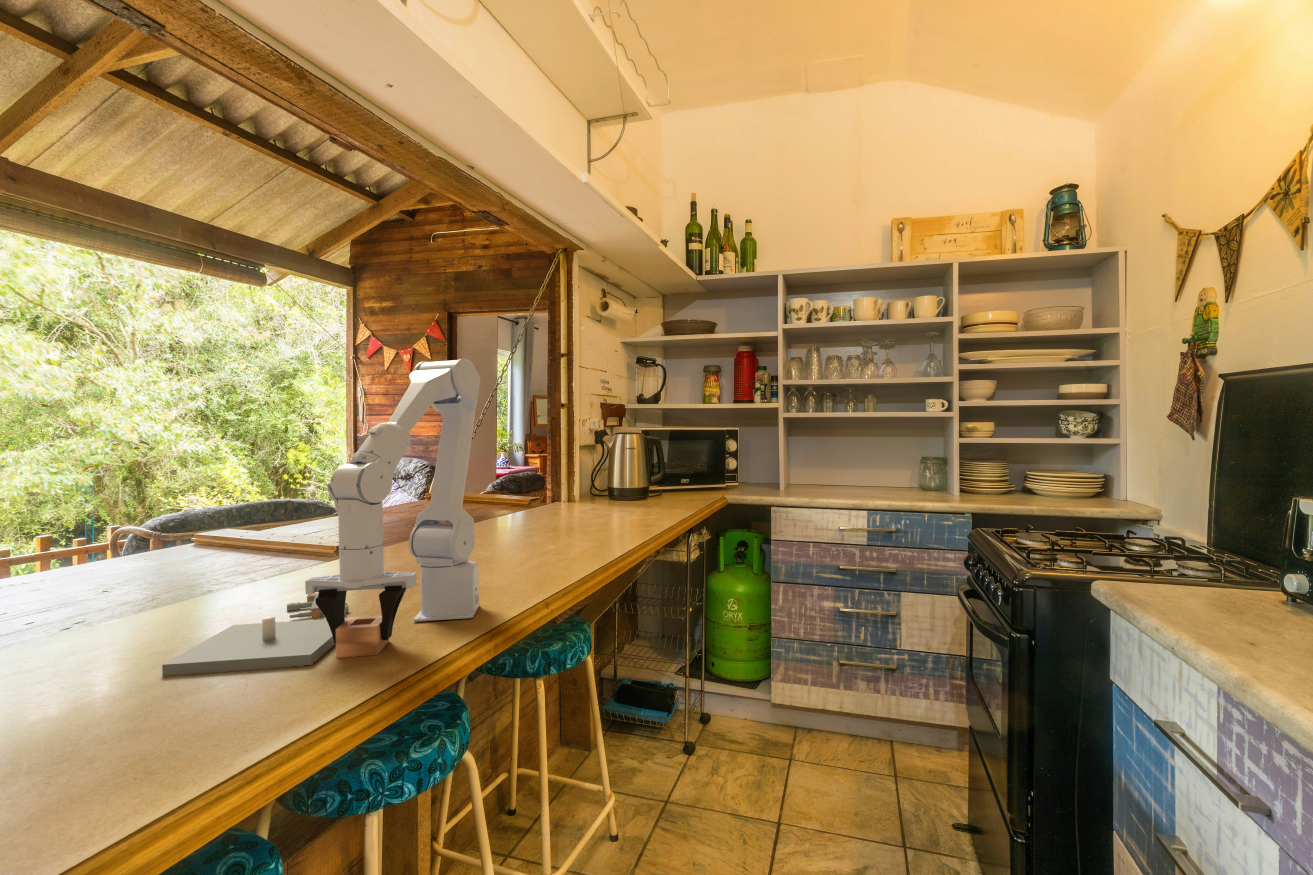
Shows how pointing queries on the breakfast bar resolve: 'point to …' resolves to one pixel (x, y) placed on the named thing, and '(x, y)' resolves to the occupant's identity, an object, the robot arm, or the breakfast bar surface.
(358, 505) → the robot arm
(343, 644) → the collar block
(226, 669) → the pin board
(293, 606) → the clamp
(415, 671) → the breakfast bar surface
